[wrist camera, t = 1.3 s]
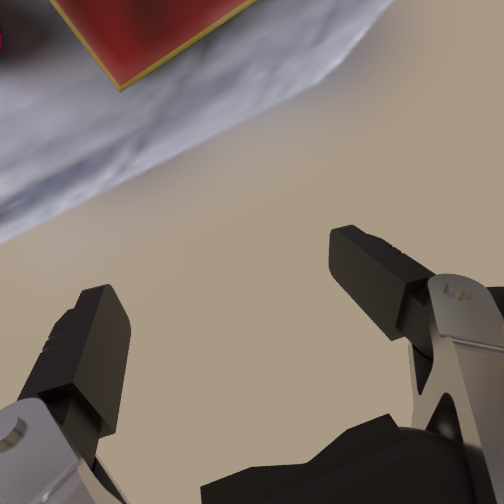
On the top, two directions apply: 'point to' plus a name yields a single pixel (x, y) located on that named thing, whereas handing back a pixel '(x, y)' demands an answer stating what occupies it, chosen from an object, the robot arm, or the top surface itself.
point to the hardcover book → (142, 30)
